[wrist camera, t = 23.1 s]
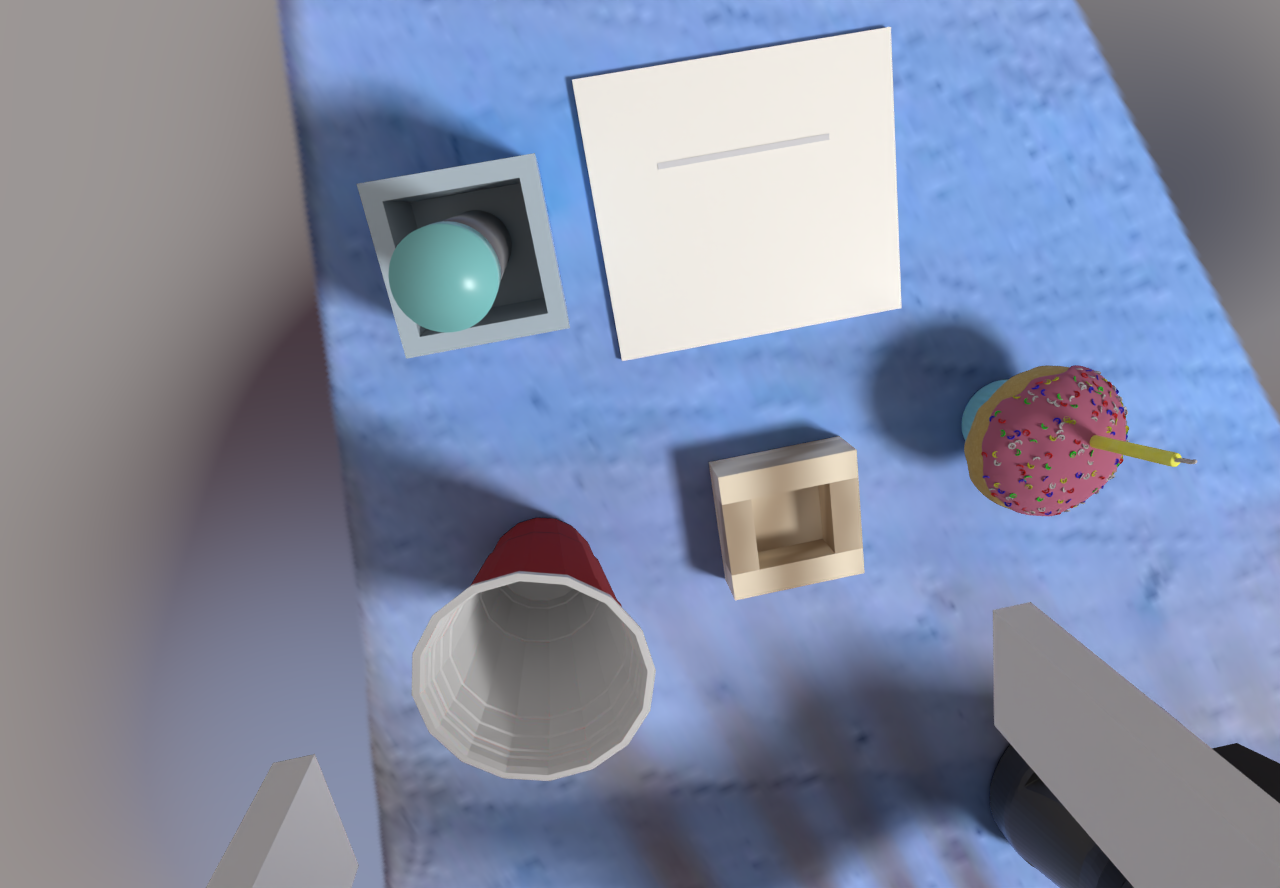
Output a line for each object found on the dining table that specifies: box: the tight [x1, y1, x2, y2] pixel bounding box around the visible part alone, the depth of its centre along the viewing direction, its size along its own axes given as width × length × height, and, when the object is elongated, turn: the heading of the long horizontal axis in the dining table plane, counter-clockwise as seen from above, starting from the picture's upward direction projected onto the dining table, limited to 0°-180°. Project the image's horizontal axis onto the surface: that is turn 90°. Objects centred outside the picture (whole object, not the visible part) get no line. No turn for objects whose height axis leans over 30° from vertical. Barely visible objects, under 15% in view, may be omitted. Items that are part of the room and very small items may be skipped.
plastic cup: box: [412, 518, 656, 781], centre depth 36 cm, size 11×11×12 cm
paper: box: [572, 27, 901, 361], centre depth 36 cm, size 16×14×1 cm
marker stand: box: [709, 436, 864, 600], centre depth 41 cm, size 8×8×2 cm
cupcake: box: [962, 366, 1197, 516], centre depth 37 cm, size 9×8×12 cm
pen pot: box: [357, 153, 570, 359], centre depth 33 cm, size 7×7×7 cm
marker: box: [389, 210, 512, 333], centre depth 28 cm, size 3×3×14 cm
